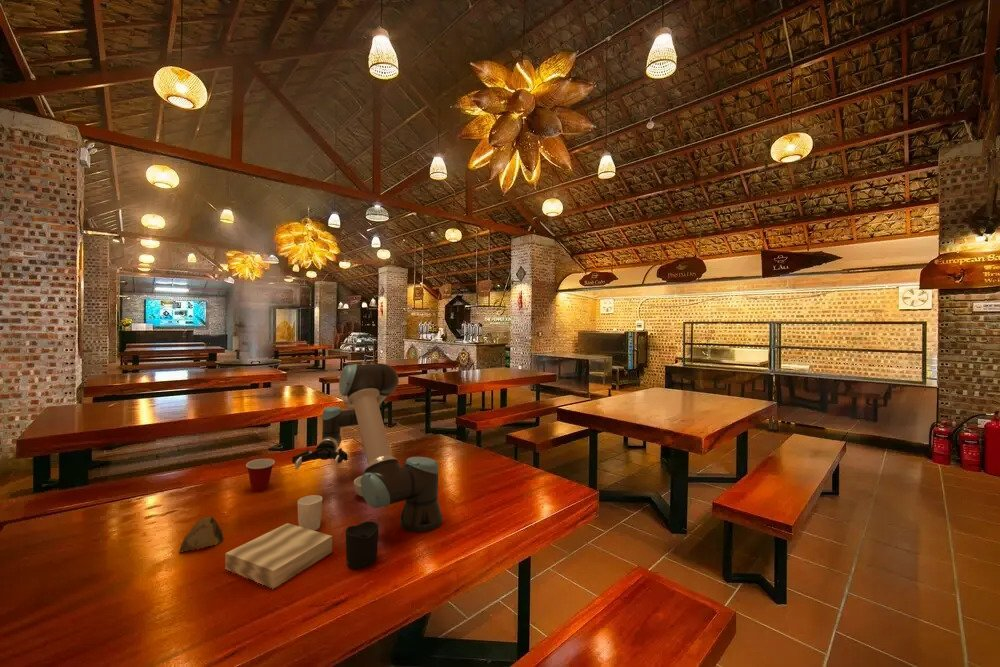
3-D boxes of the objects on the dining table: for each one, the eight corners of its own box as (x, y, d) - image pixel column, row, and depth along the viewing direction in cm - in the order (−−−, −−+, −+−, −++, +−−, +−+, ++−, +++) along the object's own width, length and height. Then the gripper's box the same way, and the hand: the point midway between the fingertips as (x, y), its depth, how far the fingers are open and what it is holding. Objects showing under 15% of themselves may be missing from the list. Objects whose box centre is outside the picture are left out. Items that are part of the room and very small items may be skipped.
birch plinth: (332, 552, 124) (332, 536, 124) (273, 589, 105) (273, 570, 105) (287, 538, 131) (287, 523, 131) (225, 570, 113) (225, 553, 113)
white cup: (326, 525, 140) (327, 497, 140) (307, 535, 133) (308, 506, 133) (311, 520, 144) (311, 493, 144) (291, 530, 136) (292, 501, 137)
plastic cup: (251, 497, 163) (251, 468, 163) (241, 490, 170) (241, 462, 170) (278, 489, 172) (279, 461, 172) (268, 483, 178) (268, 456, 178)
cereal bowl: (378, 484, 179) (379, 469, 179) (403, 493, 169) (403, 477, 169) (345, 496, 165) (345, 479, 165) (369, 507, 156) (369, 489, 156)
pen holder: (352, 552, 124) (353, 520, 124) (382, 553, 123) (382, 521, 123) (339, 570, 114) (340, 535, 114) (371, 571, 114) (372, 536, 114)
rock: (168, 551, 119) (203, 545, 119) (177, 520, 124) (211, 515, 125) (190, 556, 127) (223, 551, 128) (199, 527, 132) (230, 522, 133)
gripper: (357, 455, 172) (351, 472, 151) (294, 458, 166) (279, 477, 145) (357, 438, 172) (351, 453, 151) (295, 441, 166) (279, 456, 145)
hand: (316, 465), depth 148 cm, fingers open, 13 cm apart
